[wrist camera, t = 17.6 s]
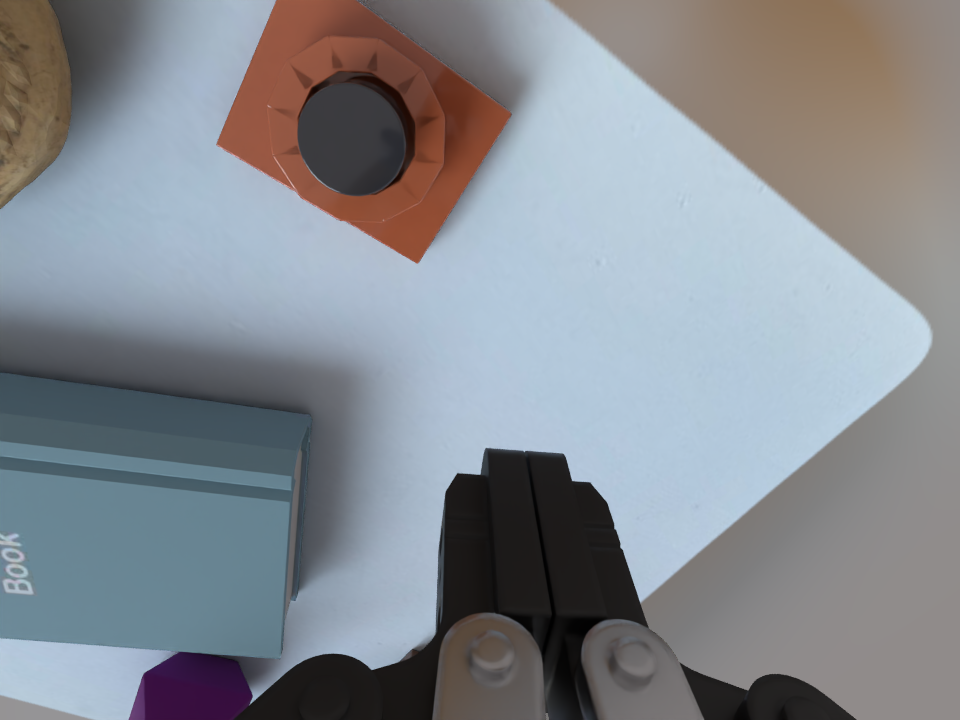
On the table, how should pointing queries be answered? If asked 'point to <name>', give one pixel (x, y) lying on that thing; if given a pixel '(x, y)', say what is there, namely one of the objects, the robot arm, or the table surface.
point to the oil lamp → (31, 93)
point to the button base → (396, 69)
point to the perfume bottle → (192, 689)
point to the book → (148, 518)
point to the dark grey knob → (353, 137)
